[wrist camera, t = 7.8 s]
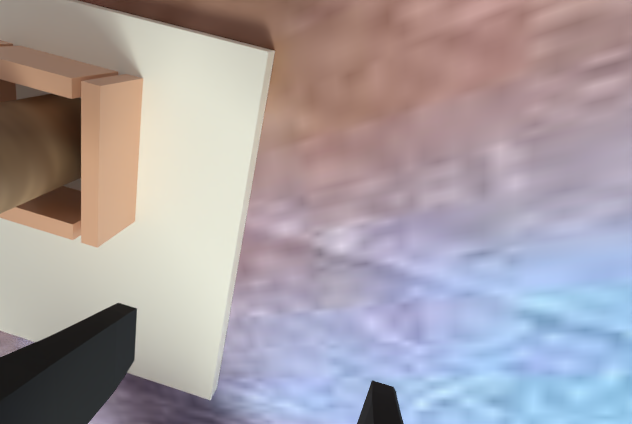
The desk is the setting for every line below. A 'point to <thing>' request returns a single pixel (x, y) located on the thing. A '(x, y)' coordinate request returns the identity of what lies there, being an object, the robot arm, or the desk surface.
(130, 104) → the square wooden frame
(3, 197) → the walnut peg
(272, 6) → the desk surface
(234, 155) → the off-white board
